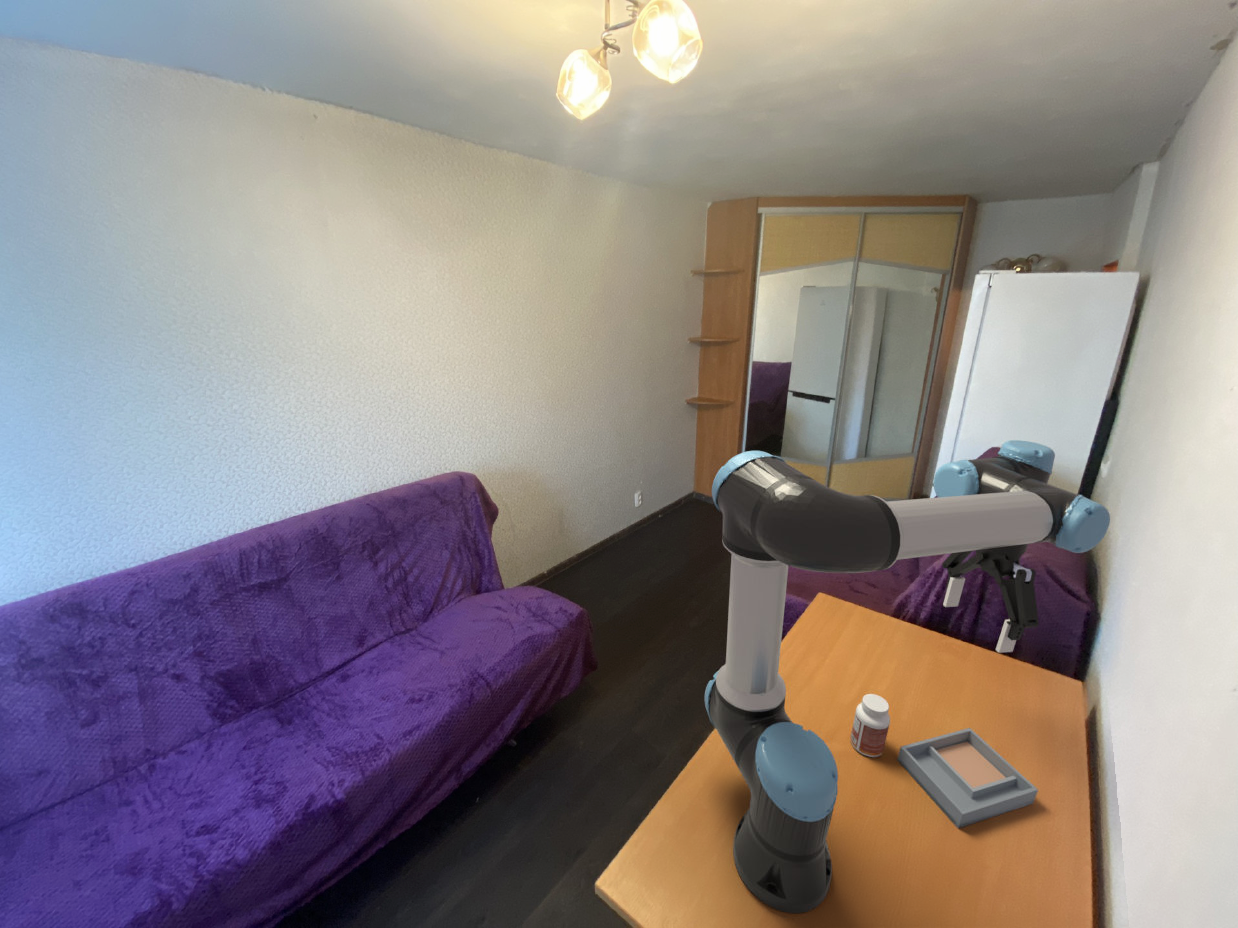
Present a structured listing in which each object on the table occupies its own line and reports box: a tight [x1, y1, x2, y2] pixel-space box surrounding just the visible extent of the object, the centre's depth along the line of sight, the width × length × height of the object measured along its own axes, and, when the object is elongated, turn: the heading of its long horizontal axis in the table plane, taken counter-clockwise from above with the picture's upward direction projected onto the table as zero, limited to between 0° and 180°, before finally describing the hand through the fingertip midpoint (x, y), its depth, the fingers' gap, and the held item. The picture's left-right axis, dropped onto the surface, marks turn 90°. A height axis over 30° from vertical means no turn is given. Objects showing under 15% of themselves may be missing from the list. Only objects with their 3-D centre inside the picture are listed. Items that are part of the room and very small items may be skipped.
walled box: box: [896, 727, 1039, 829], centre depth 98 cm, size 17×14×4 cm
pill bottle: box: [850, 693, 891, 758], centre depth 104 cm, size 6×6×11 cm
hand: (975, 627), depth 100 cm, fingers open, 13 cm apart
